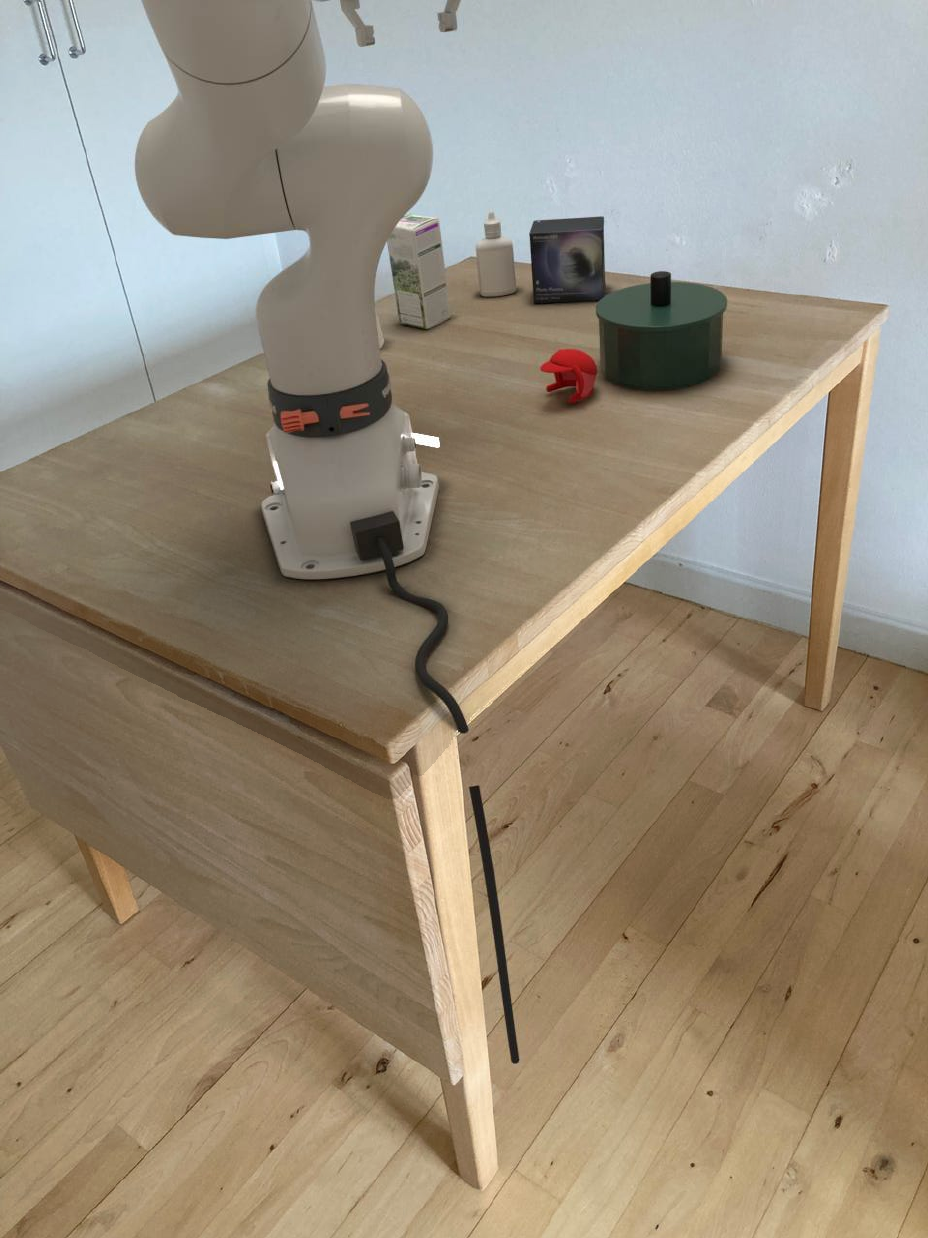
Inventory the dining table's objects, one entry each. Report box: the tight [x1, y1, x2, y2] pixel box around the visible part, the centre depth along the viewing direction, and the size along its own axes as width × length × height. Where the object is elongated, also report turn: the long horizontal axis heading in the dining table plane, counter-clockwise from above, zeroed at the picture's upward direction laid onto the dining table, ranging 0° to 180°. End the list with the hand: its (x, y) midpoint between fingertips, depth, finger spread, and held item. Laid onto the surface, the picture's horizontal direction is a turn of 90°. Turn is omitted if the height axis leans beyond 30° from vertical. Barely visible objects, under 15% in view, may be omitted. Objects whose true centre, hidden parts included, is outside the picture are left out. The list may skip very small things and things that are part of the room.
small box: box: [528, 216, 607, 304], centre depth 152 cm, size 11×6×10 cm, turn 81°
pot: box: [598, 313, 724, 392], centre depth 127 cm, size 15×15×8 cm
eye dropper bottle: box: [475, 211, 517, 298], centre depth 156 cm, size 4×6×12 cm
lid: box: [595, 270, 728, 332], centre depth 124 cm, size 16×16×5 cm
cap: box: [539, 348, 598, 405], centre depth 123 cm, size 8×6×6 cm
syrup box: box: [386, 214, 452, 330], centre depth 148 cm, size 6×6×14 cm
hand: (408, 38), depth 111 cm, fingers open, 8 cm apart
